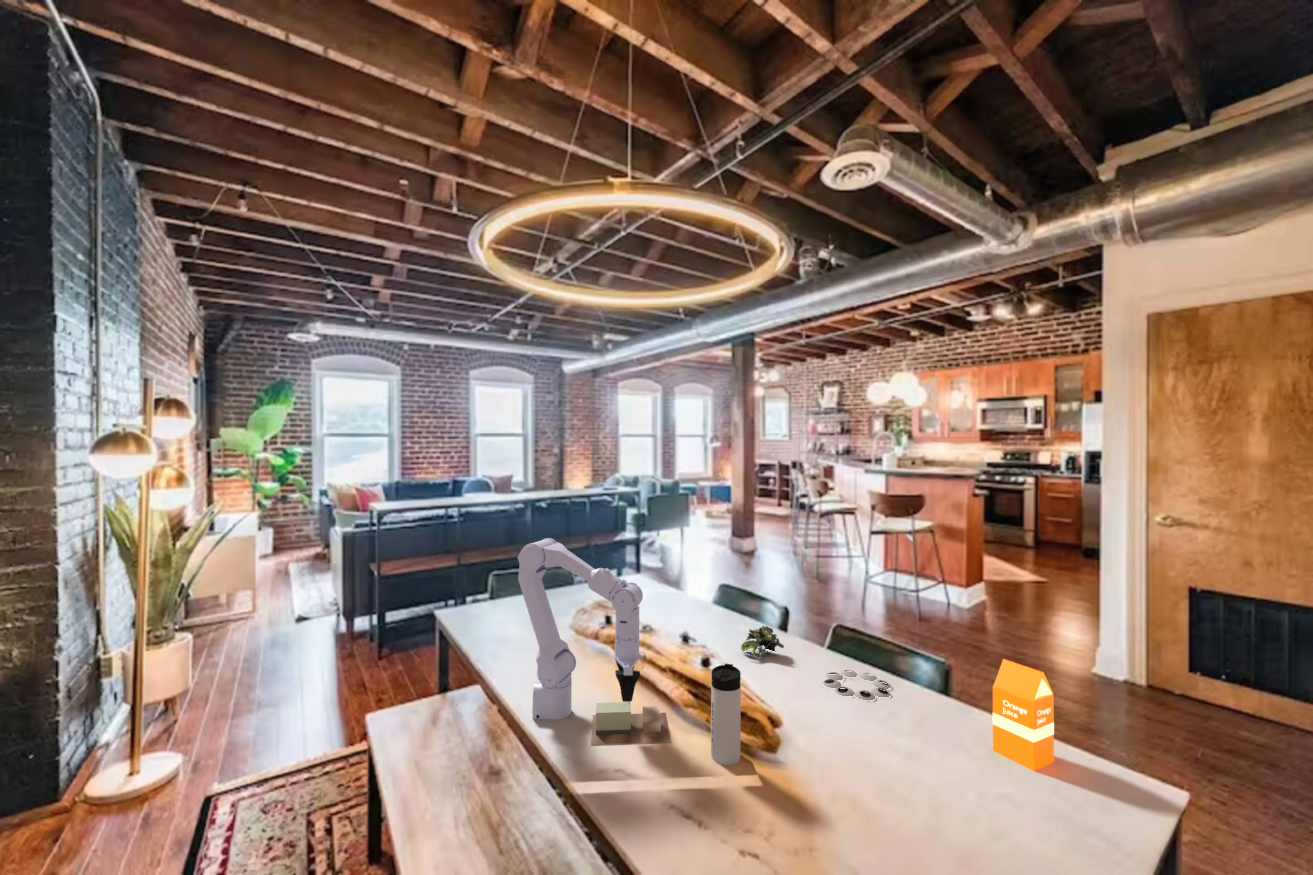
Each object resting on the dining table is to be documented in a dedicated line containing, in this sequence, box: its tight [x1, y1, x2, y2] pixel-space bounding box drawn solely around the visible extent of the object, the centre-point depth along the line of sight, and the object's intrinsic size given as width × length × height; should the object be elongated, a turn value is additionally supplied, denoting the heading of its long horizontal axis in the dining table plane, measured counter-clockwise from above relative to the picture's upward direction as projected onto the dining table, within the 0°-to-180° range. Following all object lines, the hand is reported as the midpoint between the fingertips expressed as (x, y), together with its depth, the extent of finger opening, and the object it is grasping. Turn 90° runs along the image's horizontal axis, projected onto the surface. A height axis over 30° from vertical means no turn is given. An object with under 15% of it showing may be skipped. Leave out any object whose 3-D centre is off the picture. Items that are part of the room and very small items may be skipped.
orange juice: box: [992, 658, 1055, 772], centre depth 123 cm, size 8×9×20 cm
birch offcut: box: [642, 705, 662, 732], centre depth 131 cm, size 4×4×4 cm
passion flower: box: [740, 625, 785, 657], centre depth 180 cm, size 11×11×12 cm
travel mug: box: [710, 663, 742, 766], centre depth 119 cm, size 6×7×20 cm
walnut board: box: [590, 712, 672, 747], centre depth 131 cm, size 18×14×2 cm
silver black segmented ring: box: [822, 669, 892, 700], centre depth 158 cm, size 20×20×2 cm
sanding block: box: [595, 701, 632, 735], centre depth 130 cm, size 8×5×5 cm, turn 95°
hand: (626, 693), depth 133 cm, fingers open, 7 cm apart
